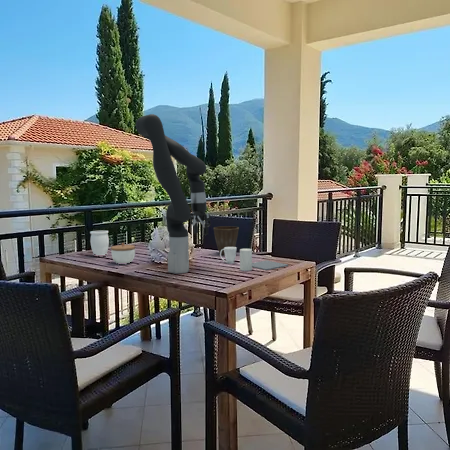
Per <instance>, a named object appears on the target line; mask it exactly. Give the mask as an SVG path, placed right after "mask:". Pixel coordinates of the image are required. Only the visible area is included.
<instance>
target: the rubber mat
mask: <svg viewBox="0 0 450 450" xmlns="http://www.w3.org/2000/svg"><path fill="white" fill-rule="evenodd" d="M288 265H289V264H288V263H287V264H286V263H282V262H276V261H272V260H271V261H270V260H268V259H267V260H261V261H256V262H252V269H253V268H254V269H257V270H263V271H269V270H275V269H280V267H281V268H286V267H289V266H288ZM285 266H286V267H285Z"/></svg>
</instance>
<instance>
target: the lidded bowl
mask: <svg viewBox="0 0 450 450" xmlns="http://www.w3.org/2000/svg"><path fill="white" fill-rule="evenodd" d="M110 251H111V258H112V260H113V262H114V263H116V264H117V263H130V262H131V263H132V261H133V260H134V258H135V255H136V246H135V244H125V242H122V243H121V244H119V245H112V246H111V247H110ZM131 263H130V264H131Z"/></svg>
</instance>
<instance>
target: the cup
mask: <svg viewBox="0 0 450 450" xmlns="http://www.w3.org/2000/svg"><path fill="white" fill-rule="evenodd" d="M237 248H238V247H236V246H235V247H225V248H224V249H222V250H224V253H225V255H224V257H225V259H224V258H223V255H221V252H222V250H221V251H220V253H219V256H220V258H221V260H222V261H224V262H225V263H226V264H235V260H236V255H237Z"/></svg>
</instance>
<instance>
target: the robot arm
mask: <svg viewBox="0 0 450 450" xmlns="http://www.w3.org/2000/svg"><path fill="white" fill-rule="evenodd" d="M135 129H136V131H137V133H138V134H139V135H141V136H142V137H144V138H145V139H147V140H149V141H150V144H151V147H152V167H153V170H154V173H155V175H156V176H155V177H156V178H157V181H158V183H159V184H160V186H161V187H162V188H163V191H165V192H166V194H167V195H168V197H169V199H170V202H171V203H170V204H169V205H168V206H167V208H166V211H165V212H166V213H165V215H166V216H165V217H166V219H165V220H166V230H167V232H168V247H169V250H168V252H167V272H168V273H171V274H186V273H188V272H190V256H189V255H190V253H189V230H188V229H187V228H186V227H185V225H184V223H187V222H188V221H189V222H190V225H191V226H192V227H193V234H198V233H199V226H198V224H199V223H200V224H201V225H202V226H203V235H204V236H208V235H209V227H210V226H211V225H212V223H211V216H210V213H206V211H207V210H208V209H207V208H208V207H207V206H208V205H207V196H206V188H205V185H206V184H205V181H204V180H202V179H201V178H200V176H202V175H204V174H205V173H206V171H207V165H206V163H205V162H204V161H203V160H202V159H201V158H199V157H197V156H196V155H194V154H193V153H191V152H189V151H188V150H187V148H185V147H184V146H183V145H182V144H180V143H179V142H178V141H176V140H174V139H172V138H170V137H168V136H167V135H166V134H165V130H164V125H163V123H162V120H161V118H160V117H159V116H158V115H156V114H153V113H150V114H146V115H142V116H140V117H138V118H137V120H136V123H135ZM173 159H174V160H175V161H177V162H178V163H179V164H180V165H182V166H185V171H186V176H187V178H188V183H189V185H190V186H189V187H190V188H189V189H190V204H189V203H188V200H187V199H186V196H185V193H184V191H183V188H182V185H181V183H180V179H179V177H178V173H177V171H176V167H175V165H174V162H173ZM190 205H191V208H190Z"/></svg>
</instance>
